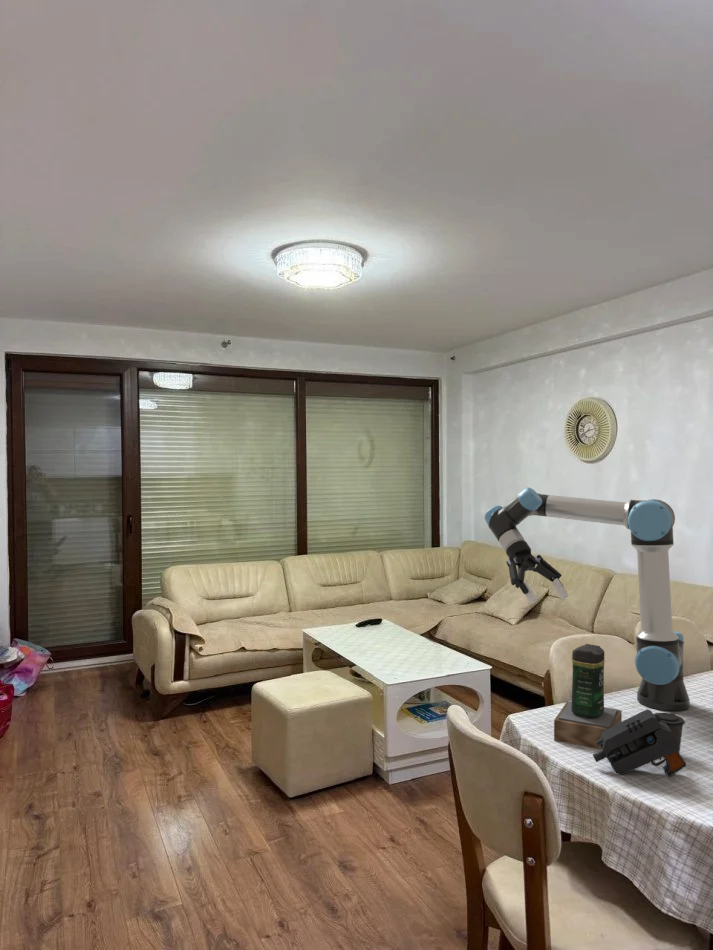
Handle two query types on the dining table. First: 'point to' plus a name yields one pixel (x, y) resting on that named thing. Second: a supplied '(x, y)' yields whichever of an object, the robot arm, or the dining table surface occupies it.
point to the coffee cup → (673, 725)
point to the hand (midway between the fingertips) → (550, 599)
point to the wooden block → (584, 726)
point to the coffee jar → (588, 681)
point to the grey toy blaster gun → (640, 744)
